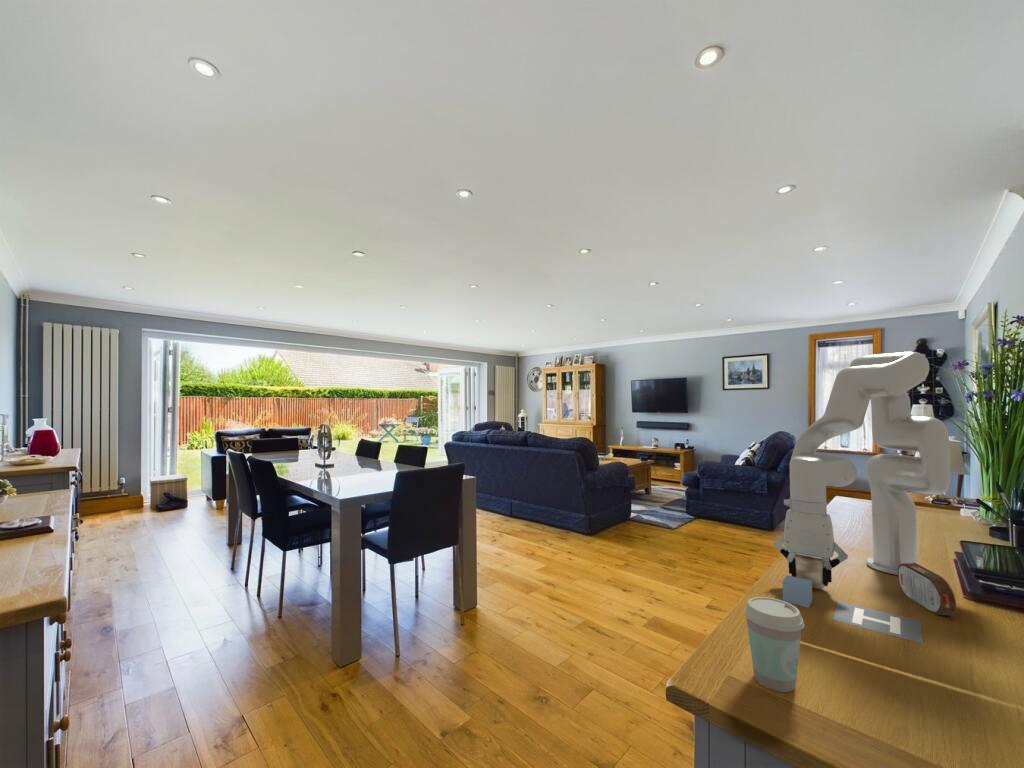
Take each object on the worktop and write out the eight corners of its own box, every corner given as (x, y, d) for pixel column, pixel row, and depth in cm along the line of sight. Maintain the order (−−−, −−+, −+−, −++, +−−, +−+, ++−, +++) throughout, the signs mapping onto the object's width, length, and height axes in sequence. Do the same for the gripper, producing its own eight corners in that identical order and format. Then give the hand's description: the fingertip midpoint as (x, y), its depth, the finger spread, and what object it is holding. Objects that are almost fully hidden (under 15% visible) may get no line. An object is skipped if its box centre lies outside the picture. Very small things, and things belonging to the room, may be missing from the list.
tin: (958, 623, 93) (956, 582, 94) (940, 621, 94) (939, 580, 94) (910, 593, 108) (908, 558, 108) (895, 592, 109) (894, 557, 109)
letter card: (837, 602, 102) (837, 601, 102) (920, 622, 93) (920, 620, 93) (832, 621, 93) (832, 619, 93) (923, 645, 84) (923, 643, 84)
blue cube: (787, 596, 106) (786, 575, 106) (812, 602, 103) (811, 580, 103) (783, 603, 102) (782, 581, 102) (809, 610, 99) (808, 587, 99)
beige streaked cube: (793, 583, 110) (793, 557, 110) (797, 576, 114) (797, 551, 115) (823, 590, 106) (822, 563, 106) (826, 582, 111) (825, 556, 111)
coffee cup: (784, 704, 67) (783, 623, 68) (733, 674, 75) (732, 601, 75) (817, 688, 71) (815, 611, 72) (765, 661, 79) (764, 591, 79)
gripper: (765, 504, 114) (767, 576, 113) (850, 515, 103) (852, 595, 102) (771, 499, 120) (773, 568, 119) (852, 510, 108) (854, 585, 107)
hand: (809, 580), depth 110 cm, fingers closed on beige streaked cube, 6 cm apart
